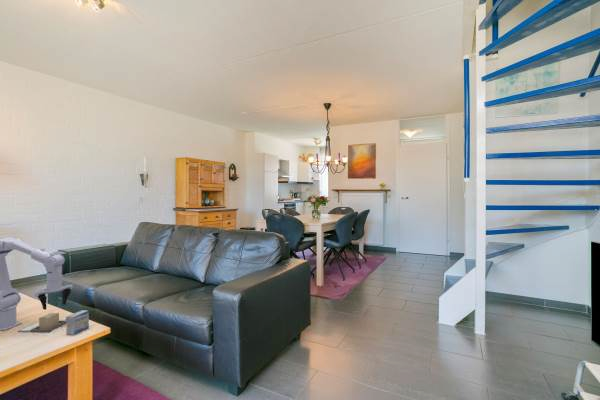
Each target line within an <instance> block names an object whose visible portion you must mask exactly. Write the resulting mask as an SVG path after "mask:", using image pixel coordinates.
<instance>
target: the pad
mask: <svg viewBox="0 0 600 400" xmlns="http://www.w3.org/2000/svg"><path fill="white" fill-rule="evenodd" d="M37 326H39V321H36V322H34V323H32V324H30V325H27V326H25V327H23V328H21V329H19V330H17V332H18V333H32V332H31V329H33V328H35V327H37Z"/></svg>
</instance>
